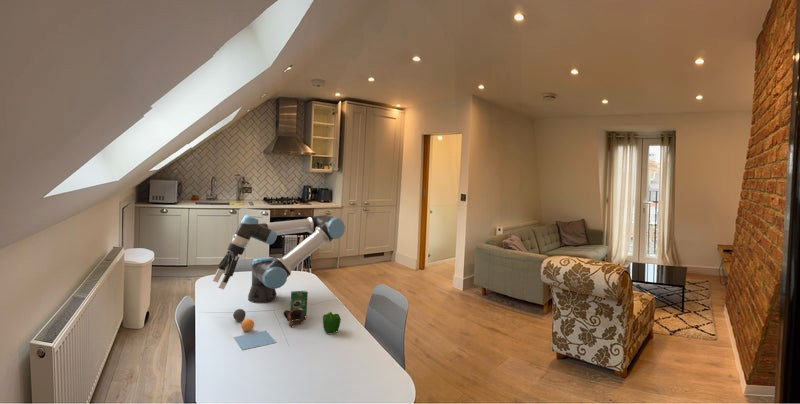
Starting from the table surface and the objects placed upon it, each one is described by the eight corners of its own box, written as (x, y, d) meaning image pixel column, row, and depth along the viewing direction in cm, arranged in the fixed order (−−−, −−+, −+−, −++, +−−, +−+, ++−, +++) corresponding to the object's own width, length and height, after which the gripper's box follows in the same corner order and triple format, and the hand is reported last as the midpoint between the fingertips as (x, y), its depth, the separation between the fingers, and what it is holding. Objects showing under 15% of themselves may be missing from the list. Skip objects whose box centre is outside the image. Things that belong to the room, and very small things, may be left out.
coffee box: (305, 314, 203) (306, 289, 201) (307, 317, 200) (307, 291, 199) (289, 316, 199) (290, 291, 198) (290, 318, 197) (291, 292, 195)
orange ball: (252, 327, 184) (252, 315, 183) (255, 331, 180) (255, 320, 179) (239, 329, 181) (239, 318, 180) (242, 334, 176) (243, 322, 176)
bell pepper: (331, 326, 190) (332, 306, 189) (343, 331, 184) (344, 310, 184) (317, 331, 183) (318, 310, 182) (329, 337, 178) (330, 315, 177)
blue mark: (265, 330, 181) (265, 330, 181) (276, 342, 170) (276, 342, 170) (233, 337, 173) (233, 337, 173) (242, 350, 162) (242, 349, 162)
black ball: (243, 317, 195) (243, 306, 195) (246, 321, 191) (247, 310, 190) (231, 319, 192) (232, 308, 191) (234, 323, 188) (234, 312, 187)
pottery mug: (309, 321, 196) (310, 310, 191) (299, 336, 188) (299, 325, 183) (287, 312, 198) (287, 301, 193) (276, 327, 190) (276, 315, 185)
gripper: (225, 238, 207) (205, 276, 203) (237, 246, 187) (215, 289, 183) (238, 243, 211) (219, 281, 207) (252, 252, 191) (231, 294, 187)
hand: (217, 285), depth 195 cm, fingers open, 13 cm apart
